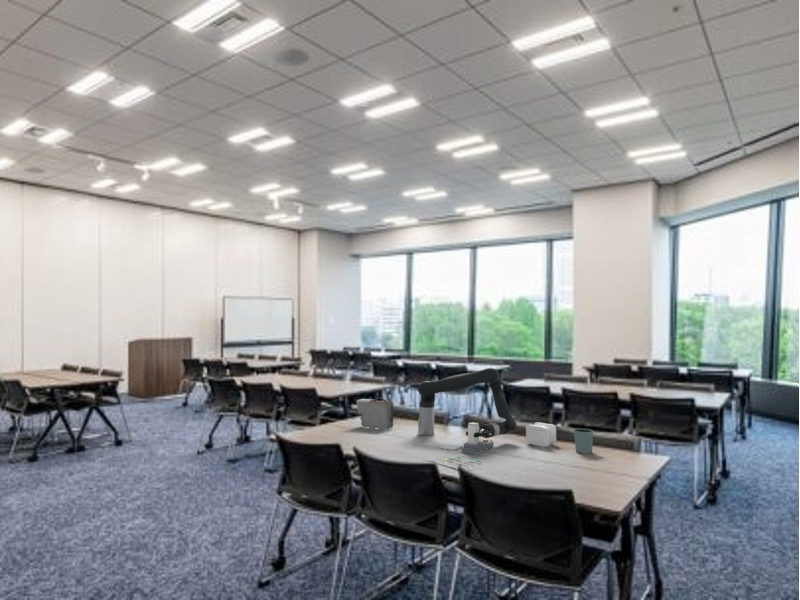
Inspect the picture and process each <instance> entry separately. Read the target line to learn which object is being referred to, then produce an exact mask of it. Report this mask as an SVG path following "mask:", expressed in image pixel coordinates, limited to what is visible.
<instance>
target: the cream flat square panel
mask: <svg viewBox="0 0 800 600" xmlns="http://www.w3.org/2000/svg"><path fill="white" fill-rule="evenodd" d="M462 456H463V457H462ZM462 456H460V455H458V456H456V457H453V456H450V457H449V458H447V457H446V458H444V460H446V461H447V460H449V459H450V460H451V461H452V462H451V463H454V462H453V461H454V460H456V461H458V462H460V463H458V466H463V467H467V464H464V462H461V459H463V460H465V459H467V457H466V455H462ZM457 458H458V459H457ZM459 458H460V459H459ZM474 461H475V460H471V459H470V460H467V462H466V463H468V462H469V463H474ZM481 462H482V463H486V461H485V460H481V459H479V458H478V459H477V461H475V464H477V463H478V464H477V465H480V464H481V465H482V463H481Z"/></svg>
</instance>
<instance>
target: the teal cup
mask: <svg viewBox="0 0 800 600" xmlns="http://www.w3.org/2000/svg"><path fill="white" fill-rule="evenodd" d="M573 436H574V445H575V453H577V452H578V453H577V454H580V453H583V454H582V455H591V454H590V453H592V454H593V445H594V444H593V443H594V441H593V438H594V430H592V429H589V428H575V429H573Z"/></svg>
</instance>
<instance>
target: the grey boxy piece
mask: <svg viewBox="0 0 800 600" xmlns="http://www.w3.org/2000/svg"><path fill="white" fill-rule="evenodd" d="M384 385H385V389H387V387H386V384H384ZM387 394H388V393H387V392H385V395H386V397H385V398H386V399H385V398H384V397H378V398H376V399H372V398H371V399H370V398H361V399H356V406H357V407H356V408H357V413H358V414H359V415H360V416H359V419H360V421H361V423H360V424H361V427H362V426H363V427H369V428H378V429H389V428H391V427H393V428H394V402H393V401H390V400H388V395H387ZM379 399H381V400H379ZM378 429H377V430H378ZM391 429H392V428H391ZM389 430H390V429H389Z"/></svg>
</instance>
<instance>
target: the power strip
mask: <svg viewBox="0 0 800 600" xmlns="http://www.w3.org/2000/svg"><path fill="white" fill-rule="evenodd" d="M493 445H494V441H493V440H492V439H490V440H489V438H484V439H479V444H477V445H473V444H468V441H466V442H464V443H463V447H461V453H462V452H463V454H468V453H473V454H472V455H475V454H476V453H478V452H480V451H482V450H484V449H486V448H488V449H490V448H492V447H494V446H493ZM491 446H492V447H491ZM489 447H490V448H489ZM486 450H487V449H486ZM484 451H485V450H484ZM482 452H483V451H482ZM480 453H481V452H480ZM478 454H479V453H478ZM476 455H477V454H476Z"/></svg>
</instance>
